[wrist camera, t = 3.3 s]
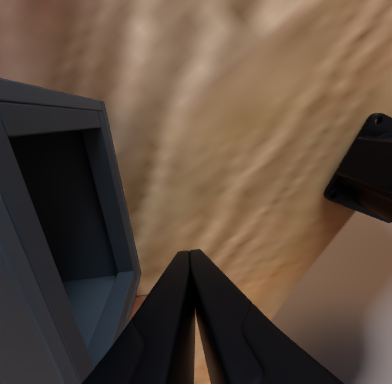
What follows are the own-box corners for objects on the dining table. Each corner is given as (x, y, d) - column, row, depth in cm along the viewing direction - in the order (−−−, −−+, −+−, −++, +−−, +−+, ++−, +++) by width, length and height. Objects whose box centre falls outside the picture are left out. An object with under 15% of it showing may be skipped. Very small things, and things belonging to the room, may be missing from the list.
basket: (104, 101, 13) (-87, 56, 4) (141, 273, 17) (96, 454, 8) (-30, 114, 13) (-606, 100, 3) (41, 285, 17) (-128, 489, 8)
